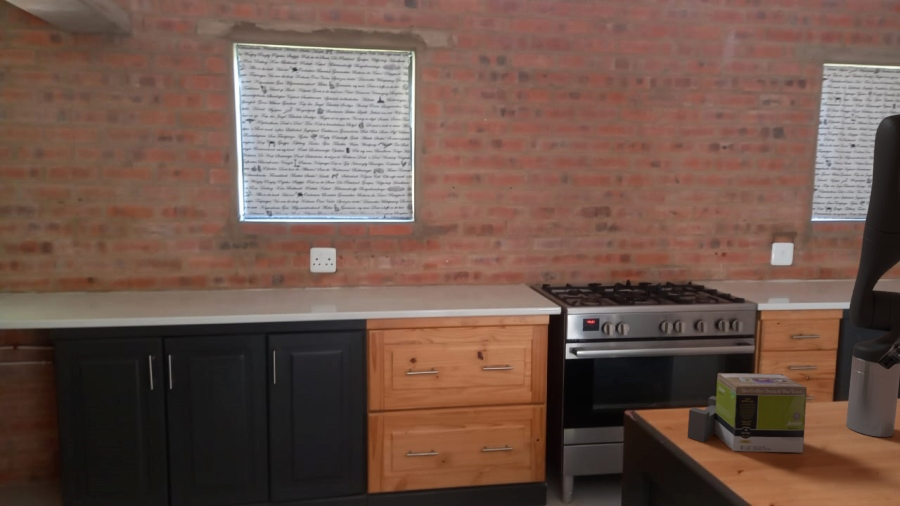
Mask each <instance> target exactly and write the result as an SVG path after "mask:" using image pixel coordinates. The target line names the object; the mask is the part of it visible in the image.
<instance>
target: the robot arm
mask: <svg viewBox="0 0 900 506" xmlns="http://www.w3.org/2000/svg"><path fill="white" fill-rule="evenodd" d="M875 132H876V133H875V135H874V145H873V162H872V163H873V164H872V178H871V188H870V196H869V201H868V207H867V208H868V209H867V211H866V217H865V223H864V229H863V233H862V234H863V235H862V242H861V252H860V258H859V265H858V270H857V274H856V277H855V281H854V286H853V290H852V292H851V293H852V294H851V298H850V302H849V308H848V318H849V319H848V320H849V322H850V324H851V325H852V327H855V328H858V329H862V330H873V331H879V332H880V331H882V332H885V333H884V334H883V335H881V336H879V337H877V338H874V339H871V340H864V341H860V342H857V343H855V344H854V346H853V348H852V349H853V350H852V357H851V358H852V359H851V368H850V370H851V371H850V379H849V392H848V401H847V411H846V422H845V423H846V427H847V428H848V429H851V430H852V431H854V432H857V433H860V434H863V435H867V436H871V437H872V436H873V437H879V438H890V437H892V436H894V433H895V423H896V416H897V404H898V396H899V387H900V386H899V385H900V292H898V291H886V290H876V289H875V287H876V285H877V284H878V282H879V280H880V279H881V278H882V277H883V276H884V275H885V274H887V272H888V271H889V270H891V269H892V268H893V267H894V266H896V265H897V264H898V263H900V113H898V114H891V115H889V116H886V117H884V118H883V119H882V120H881V121H880V122H879V124H878V126H877V128H876V131H875Z"/></svg>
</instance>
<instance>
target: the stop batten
mask: <svg viewBox="0 0 900 506" xmlns="http://www.w3.org/2000/svg"><path fill="white" fill-rule="evenodd" d="M707 403H708V404H707V407H706V408H705V409H701V408H697V407H695V406H694V407H691V408H689V412H688V421H687V422H688V424H687V438H689V439H692V440H696V441H698V442H701V443H704V442H706V441H708V439H709V438H710V437H712V436H713V435H714V434H715V412H716V395H715V396H714V395H711V396H710V397H708V398H707Z"/></svg>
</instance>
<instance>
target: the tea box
mask: <svg viewBox="0 0 900 506" xmlns="http://www.w3.org/2000/svg"><path fill="white" fill-rule="evenodd" d="M716 379H717V380H716V395H715V397H716V412H715V433H714V434H715V436H717V437H718V438H719V439H720V441H722V442H723V443H724V444H725V445H726V446H727V447H728V448H729V449H730V450H731V451H733V452H752V453H753V452H755V453H757V452H758V453H759V452H760V453H761V452H762V453H763V452H764V453H798V454H799V453H800V454H802V453H804V443H805V426H806V409H807V408H806V406H807V405H806V404H807V391H808V390H807V388H808V387H806V386H804V385H803V384H801V383H799V382H797V381H795V380H794V379H791V378H789V377H788V376H786V375H784V374H783V373H748V372H747V373H746V372H745V373H737V372H734V373H729V372H727V373H725V372H718V373H717V378H716Z"/></svg>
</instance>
